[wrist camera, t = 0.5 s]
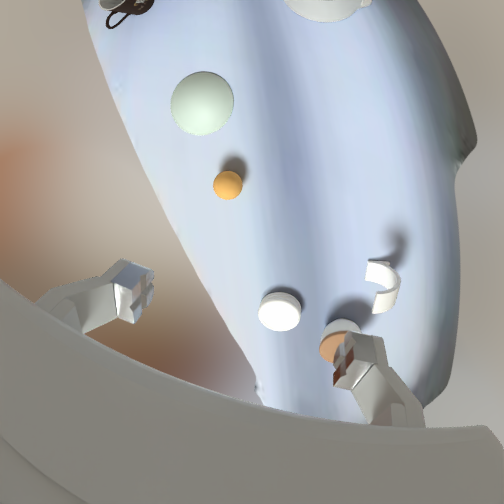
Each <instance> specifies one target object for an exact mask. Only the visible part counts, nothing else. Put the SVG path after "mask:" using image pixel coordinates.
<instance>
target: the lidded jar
mask: <svg viewBox="0 0 504 504" xmlns="http://www.w3.org/2000/svg"><path fill="white" fill-rule="evenodd" d="M349 330H351V331H355V332H359V333H362V332H361V330H360V328H359V327H358V326H357V324H355V323H354V322H353V321H350V320H348V319H344V318H341V319H336V320H334V321H333V322H331V323H329V324H328V325H327V326H326V327H325V329H324V331H323V333H322V335H321V340H320V347H319V351H320V355H321V356H322V357H323V358H324V359H325V360H326V361H328V362H331V363H333V359H334V354H335V352H336V349H337V347H338V346H339V344H341V343H343V342H344V336H345V334H346V333H347V332H348V331H349Z"/></svg>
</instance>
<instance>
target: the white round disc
mask: <svg viewBox="0 0 504 504" xmlns="http://www.w3.org/2000/svg"><path fill="white" fill-rule="evenodd" d="M258 316H259V319H260V321H261V322H262V323H263V324H264V325H265V326H266V327H268V328H269V329H272V330H276V331H286V330H290V329H292V328H294V327H295V326H296V325H297V324H298V323H299V321H300V317H301V306H300V303H299V301H298V300H297V299H296V298H295V297H294V296H292V295H290V294H288V293H284V292H274V293H271V294H268V295H267V296H265V297H264V298H263V300H262V301H261V303H260V307H259V310H258Z"/></svg>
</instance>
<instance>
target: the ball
mask: <svg viewBox="0 0 504 504" xmlns="http://www.w3.org/2000/svg"><path fill="white" fill-rule="evenodd" d="M213 188H214V191H215V193H216V194H217V196H219V197H220V198H222V199H225V200H230V199H234V198H236V197H237V196H238V195H239V194H240V192H241V190H242V180H241V178H240V176H239V175H238V174H236V173H235V172H232V171H224V172H221V173H220V174H218V175H217V176H216V178H215V180H214V183H213Z"/></svg>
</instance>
